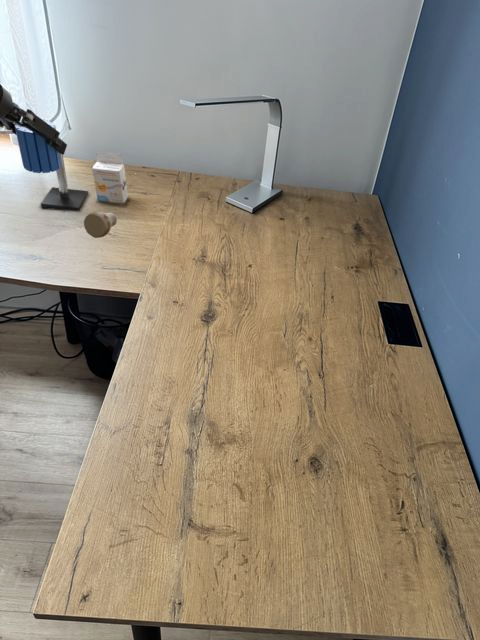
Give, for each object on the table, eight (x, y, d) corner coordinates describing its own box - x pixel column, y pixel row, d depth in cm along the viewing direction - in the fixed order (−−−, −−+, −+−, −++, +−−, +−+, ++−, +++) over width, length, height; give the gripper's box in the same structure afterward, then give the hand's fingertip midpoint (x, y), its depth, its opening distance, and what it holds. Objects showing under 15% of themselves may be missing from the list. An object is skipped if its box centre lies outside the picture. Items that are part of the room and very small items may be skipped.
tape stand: (41, 208, 151) (30, 150, 139) (53, 191, 159) (42, 136, 147) (78, 212, 152) (70, 155, 140) (88, 195, 160) (81, 140, 148)
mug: (125, 224, 149) (118, 207, 139) (106, 250, 146) (98, 234, 137) (103, 212, 149) (95, 194, 140) (84, 238, 147) (75, 221, 137)
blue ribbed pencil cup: (18, 170, 125) (9, 129, 119) (30, 156, 132) (22, 116, 125) (54, 175, 126) (47, 134, 119) (65, 160, 133) (59, 121, 126)
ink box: (97, 203, 157) (89, 157, 146) (102, 196, 160) (94, 150, 150) (124, 206, 157) (117, 161, 146) (129, 198, 160) (122, 153, 150)
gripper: (-63, 98, 108) (7, 147, 130) (22, 122, 104) (79, 169, 126) (-51, 65, 108) (16, 121, 131) (34, 88, 104) (89, 141, 126)
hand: (47, 144), depth 128 cm, fingers closed on blue ribbed pencil cup, 9 cm apart
